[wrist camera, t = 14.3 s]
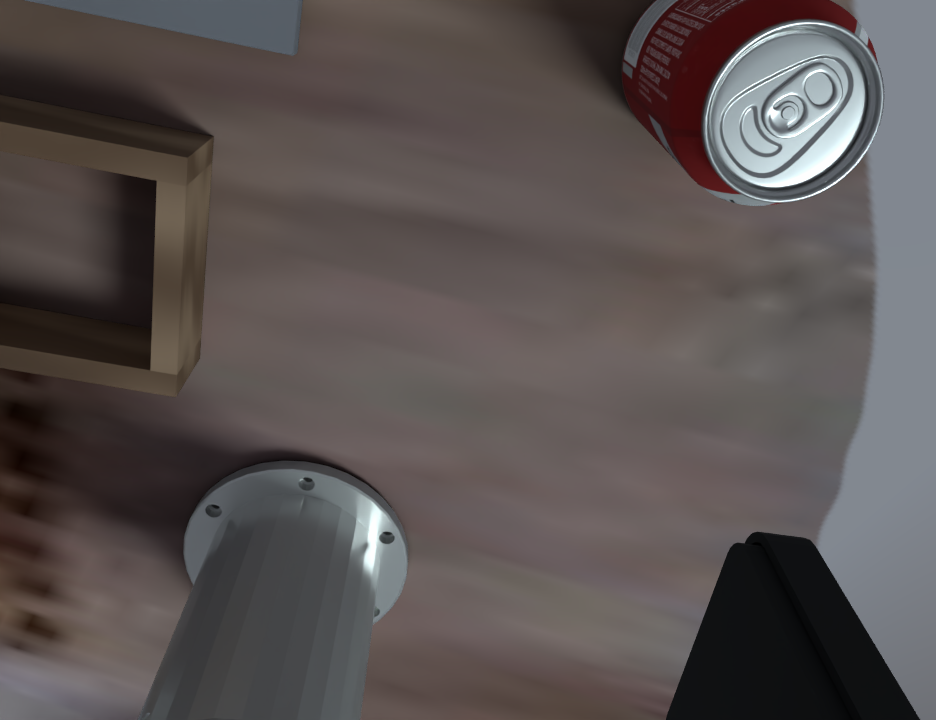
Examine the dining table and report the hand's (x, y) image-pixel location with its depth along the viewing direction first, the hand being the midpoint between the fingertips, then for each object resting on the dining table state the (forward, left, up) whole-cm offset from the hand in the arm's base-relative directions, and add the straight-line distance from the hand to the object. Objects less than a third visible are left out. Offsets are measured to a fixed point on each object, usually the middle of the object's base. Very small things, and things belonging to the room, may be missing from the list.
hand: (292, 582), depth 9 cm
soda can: (+4, -12, -32) cm, 34 cm away
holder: (-9, +14, -31) cm, 36 cm away
